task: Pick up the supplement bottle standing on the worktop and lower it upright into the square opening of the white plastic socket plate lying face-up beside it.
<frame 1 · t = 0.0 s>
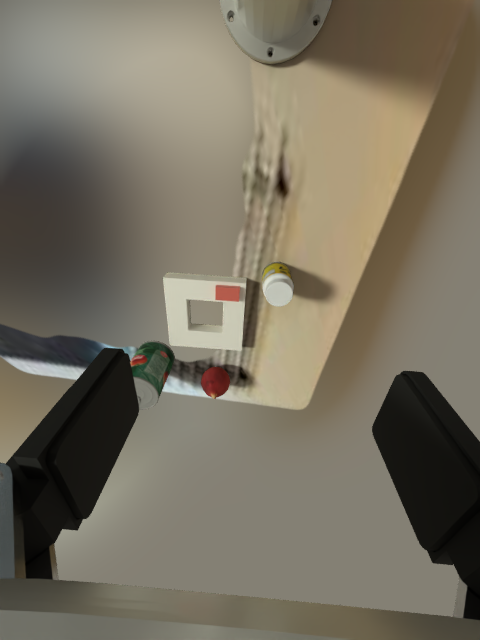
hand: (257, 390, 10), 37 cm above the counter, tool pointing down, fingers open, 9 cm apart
socket plate: (207, 310, 50), on the counter
onion: (218, 368, 58), on the counter
canned tomato: (156, 355, 57), on the counter
supplement bottle: (275, 274, 46), on the counter
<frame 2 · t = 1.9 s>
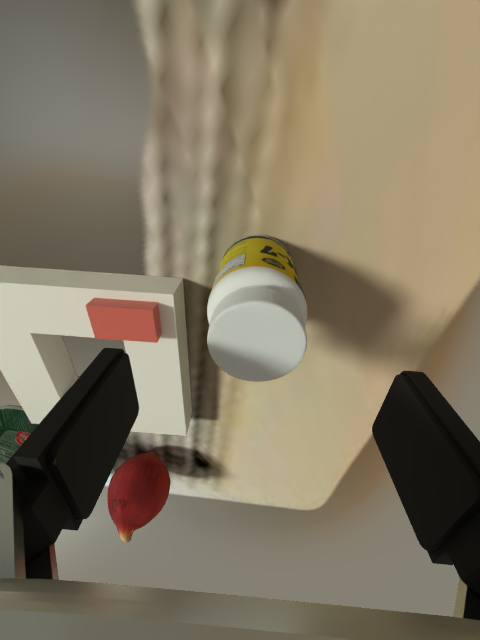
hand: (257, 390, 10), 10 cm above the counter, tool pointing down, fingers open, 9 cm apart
socket plate: (104, 350, 22), on the counter
onion: (152, 451, 30), on the counter
canned tomato: (30, 428, 29), on the counter
supplement bottle: (256, 268, 18), on the counter
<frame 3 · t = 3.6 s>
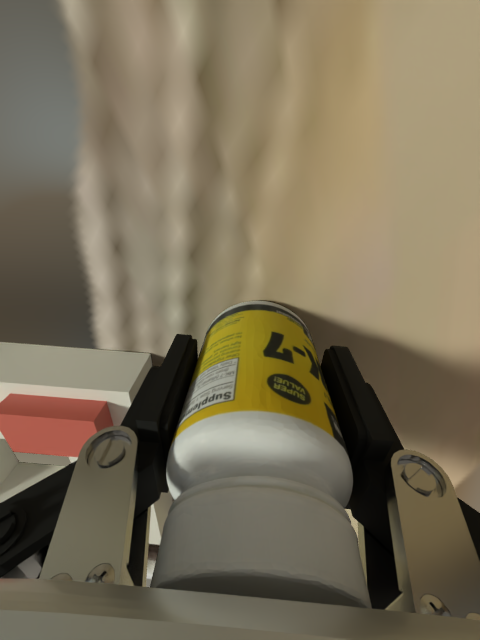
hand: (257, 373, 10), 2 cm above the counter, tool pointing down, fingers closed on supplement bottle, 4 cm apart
socket plate: (51, 435, 16), on the counter
supplement bottle: (257, 341, 12), on the counter, touching gripper
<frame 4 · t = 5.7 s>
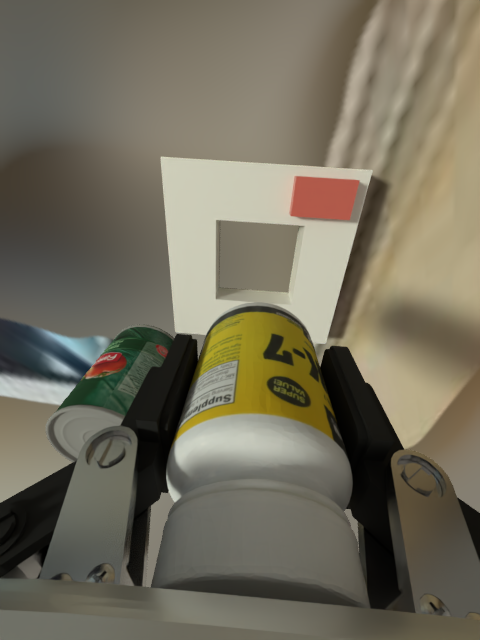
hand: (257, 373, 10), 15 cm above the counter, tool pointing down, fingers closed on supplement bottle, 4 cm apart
socket plate: (256, 256, 23), on the counter
canned tomato: (149, 353, 30), on the counter
supplement bottle: (257, 343, 12), point 13 cm above the counter, touching gripper
when the fingers open (3 cm above the counter, at t = 7.9 s): supplement bottle drops 1 cm, resting in socket plate.
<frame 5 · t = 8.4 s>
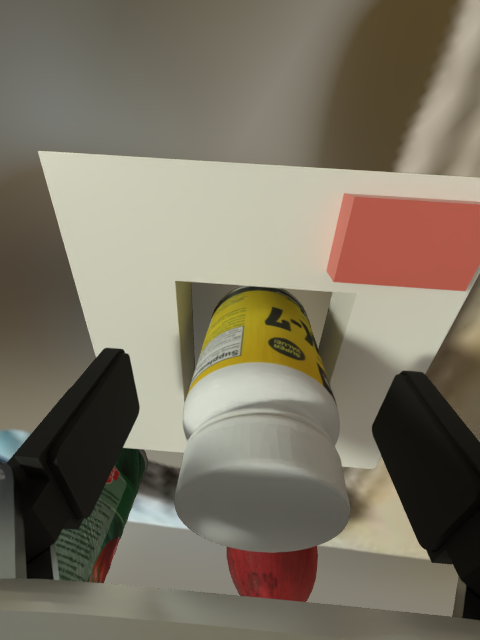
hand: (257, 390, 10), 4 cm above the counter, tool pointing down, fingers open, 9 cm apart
socket plate: (257, 327, 13), on the counter
onion: (269, 484, 21), on the counter
canned tomato: (96, 450, 20), on the counter
supplement bottle: (258, 322, 13), resting in socket plate
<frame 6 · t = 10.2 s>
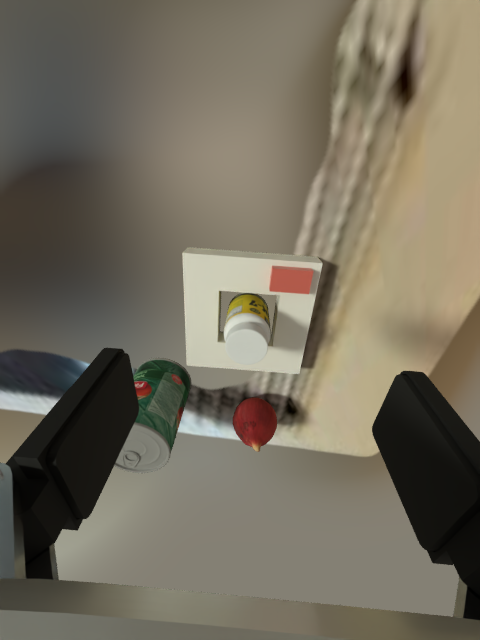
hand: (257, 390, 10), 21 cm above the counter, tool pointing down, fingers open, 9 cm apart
socket plate: (247, 310, 32), on the counter
onion: (254, 399, 39), on the counter
canned tomato: (164, 379, 38), on the counter
supplement bottle: (248, 308, 32), resting in socket plate
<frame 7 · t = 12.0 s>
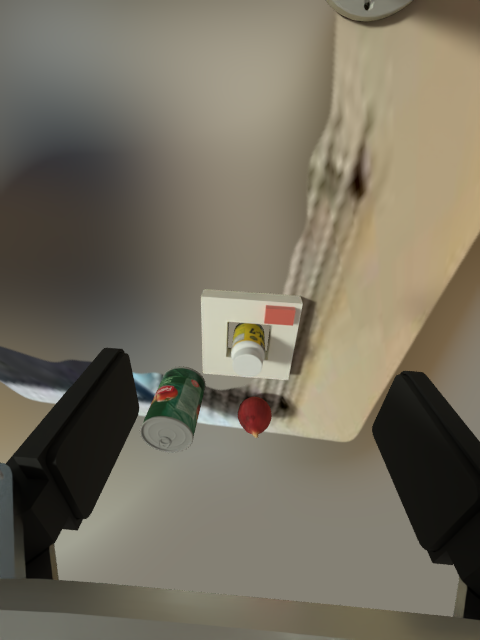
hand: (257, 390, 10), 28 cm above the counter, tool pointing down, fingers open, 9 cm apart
socket plate: (248, 332, 42), on the counter
onion: (254, 397, 50), on the counter
canned tomato: (184, 382, 49), on the counter
supplement bottle: (249, 331, 42), resting in socket plate
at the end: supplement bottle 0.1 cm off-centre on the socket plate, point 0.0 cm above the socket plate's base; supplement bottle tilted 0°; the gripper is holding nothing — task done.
